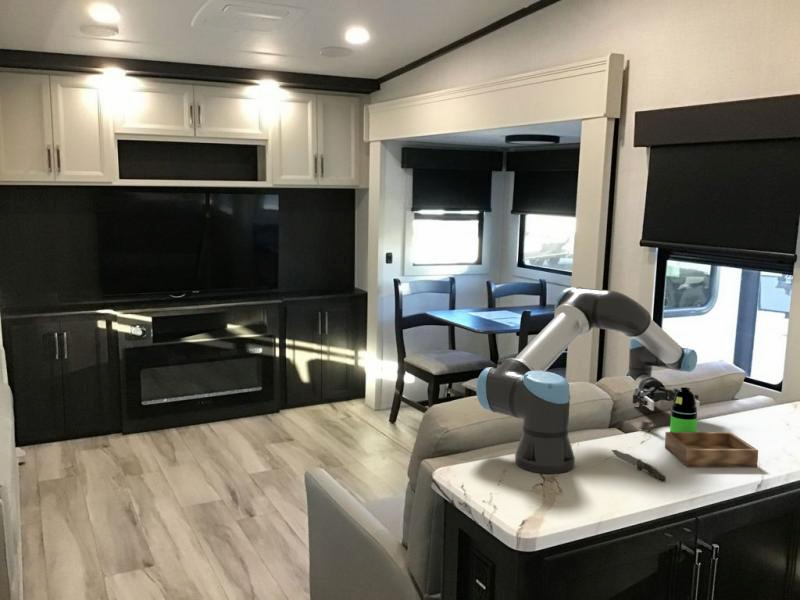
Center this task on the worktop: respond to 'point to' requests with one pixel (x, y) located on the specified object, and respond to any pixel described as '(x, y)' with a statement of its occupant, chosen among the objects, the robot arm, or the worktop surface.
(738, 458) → the crate
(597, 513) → the worktop surface
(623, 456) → the knife
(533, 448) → the robot arm
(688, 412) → the bottle
